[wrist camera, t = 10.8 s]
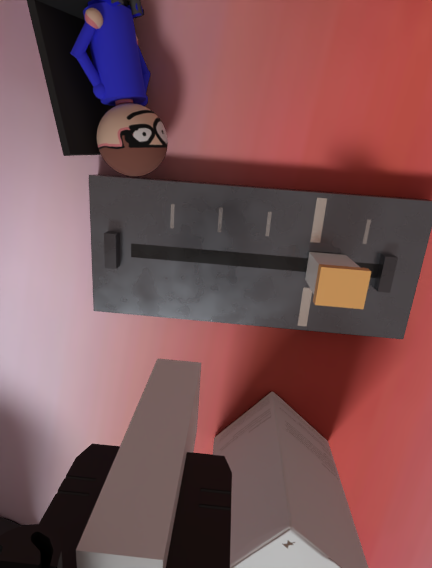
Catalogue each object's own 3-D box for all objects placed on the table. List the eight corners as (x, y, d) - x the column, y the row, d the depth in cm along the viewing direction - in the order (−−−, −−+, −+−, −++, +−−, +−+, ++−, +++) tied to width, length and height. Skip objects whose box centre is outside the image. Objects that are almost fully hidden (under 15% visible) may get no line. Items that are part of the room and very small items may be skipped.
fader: (302, 281, 31) (314, 305, 26) (307, 249, 30) (321, 266, 25) (342, 284, 31) (363, 309, 26) (348, 252, 30) (371, 271, 25)
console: (101, 303, 36) (89, 314, 33) (97, 174, 32) (83, 175, 29) (394, 329, 34) (408, 344, 31) (425, 199, 31) (444, 202, 28)
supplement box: (211, 436, 40) (193, 588, 25) (272, 388, 37) (291, 525, 23) (268, 486, 41) (283, 655, 27) (330, 442, 39) (382, 602, 25)
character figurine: (148, -39, 27) (176, 171, 32) (52, -27, 27) (93, 180, 32) (124, -116, 20) (165, 173, 24) (-8, -99, 20) (57, 185, 24)
